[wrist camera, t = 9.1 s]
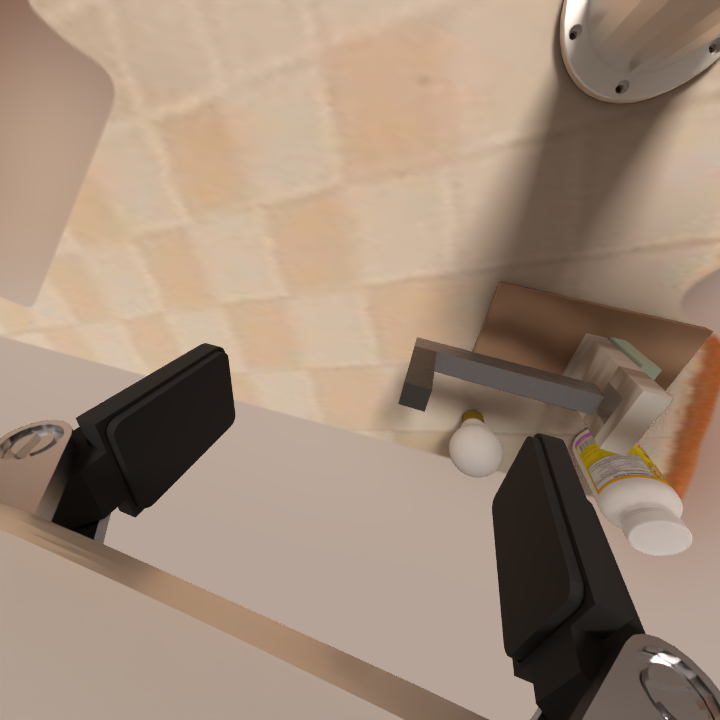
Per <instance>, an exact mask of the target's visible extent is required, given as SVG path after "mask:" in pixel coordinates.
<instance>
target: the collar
mask: <svg viewBox="0 0 720 720" xmlns="http://www.w3.org/2000/svg"><path fill="white" fill-rule="evenodd" d="M609 341H611V342H612V343H613V344H614V345H615V346H616V347H617V348H618V349H619V350H621V351H622V352H623V353H624V354H625V355H626V356H627V357H628V358H629V359H630V360H632V361H633V362H634V363H635V364H636V365H637V366H638V367H639V368H640V369H642V370H643V371H644V372H645V373H646V374H647V375H648V376H649V377H650V378H652V379H653V380H655V378H656V377H657V376H658V375H659V373H660V372H661V371H662V369H660V368H659V367H658V366H657V365H655V364H654V363H653V362H652V361H650V360H649V359H648V358H647V357H646V356H644V355H643V354H642V353H641V352H639V351H638V350H637V349H636V348H635V347H633V346H632V345H631V344H630V343H628V342H627V341H626V340H622V339H618V338H613V337H610V339H609Z"/></svg>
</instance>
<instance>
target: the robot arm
mask: <svg viewBox="0 0 720 720" xmlns="http://www.w3.org/2000/svg"><path fill="white" fill-rule="evenodd" d="M572 33H573V34H575V39H574V40H571V39H570V38H569V35H570V34H572ZM560 46H561V53H562V58H563V61H564V64H565V67H566V69H567V72H568V74H569V75H570V77H571V78H572V80H573V81H574V83H575V84H576V85H577V86H578V87H579V88H580V89H581V90H582V91H584V92H585V93H586V94H587V95H589V96H591V97H594V98H596V99H598V100H600V101H605V102H610V103H634V102H638V101H642V100H647V99H651V98H653V97H656V96H658V95H661V94H663V93H665V92H668V91H670V90H672V89H674V88H676V87H678V86H679V85H681V84H683V83H685V82H687V81H689V80H690V79H692V78H693V77H695V76H696V75H698V74H699V73H701V72H702V71H703V70H705V69H706V68H708V67H709V66H710V65H711V64H713V63H714V62H715V61H716V60H717V59H719V58H720V0H564V3H563V8H562V13H561V18H560ZM709 47H712V52H711V53H710V52H709ZM618 86H619V87H620V89H621V90H620V92H619V93H616V91H615V89H616V87H618ZM76 420H77V422H78V424H79V426H80V427H79V428H77V429H76V430H74V431H73V429H72V427H71V426H70V424H69V423H67V422H65V421H59V420H47V421H40V422H36V423H31V424H29V425H26V426H23V427H20V428H18V429H16V430H14V431H11V432H9V433H7V434H6V435H4V436H3V437H1V438H0V720H488V719H486V718H484V717H482V716H480V715H478V714H476V713H474V712H472V711H469V710H467V709H465V708H463V707H461V706H459V705H457V704H455V703H453V702H451V701H449V700H447V699H444V698H442V697H440V696H438V695H436V694H434V693H432V692H430V691H428V690H425V689H424V688H421V687H419V686H417V685H415V684H413V683H411V682H408V681H406V680H404V679H402V678H399V677H397V676H395V675H393V674H391V673H389V672H386V671H384V670H382V669H380V668H378V667H375V666H373V665H371V664H369V663H367V662H364V661H362V660H360V659H358V658H355V657H353V656H351V655H349V654H347V653H344V652H342V651H340V650H338V649H336V648H334V647H331V646H329V645H327V644H325V643H323V642H320V641H318V640H316V639H313V638H311V637H309V636H307V635H305V634H303V633H301V632H298V631H296V630H294V629H292V628H290V627H287V626H285V625H282V624H281V623H278V622H276V621H274V620H272V619H269V618H267V617H265V616H263V615H261V614H258V613H256V612H254V611H252V610H249V609H247V608H245V607H243V606H241V605H238V604H236V603H234V602H232V601H229V600H227V599H225V598H222V597H221V596H218V595H216V594H214V593H212V592H209V591H207V590H205V589H202V588H200V587H198V586H196V585H193V584H192V583H189V582H187V581H185V580H183V579H180V578H178V577H176V576H174V575H171V574H169V573H167V572H165V571H162V570H160V569H158V568H156V567H153V566H151V565H149V564H147V563H144V562H142V561H139V560H137V559H135V558H133V557H131V556H128V555H126V554H124V553H121V552H119V551H117V550H115V549H113V548H110V547H108V546H106V545H104V544H103V542H104V538H105V534H106V530H107V526H108V522H109V518H110V514H111V512H112V511H113V510H115V509H116V508H117V507H118V508H119V510H120V511H121V512H124V513H126V514H128V515H131V516H133V517H136V516H137V515H138V514H139V513H141V512H142V511H143V509H145V508H148V507H150V506H152V505H153V504H154V503H155V502H156V501H157V500H158V499H159V498H160V497H161V496H162V495H163V494H164V493H165V492H166V491H167V490H168V489H169V488H170V487H171V486H172V485H173V484H174V483H175V482H176V481H177V480H178V479H179V478H180V477H181V476H182V475H183V474H184V473H185V472H186V471H187V470H188V469H189V468H190V467H191V466H192V465H193V464H194V463H195V462H196V461H197V460H198V459H199V458H200V457H201V456H202V455H203V454H204V453H205V452H206V451H207V450H208V449H209V448H210V447H211V446H212V445H213V444H214V443H215V442H216V441H217V440H218V439H219V438H220V437H221V435H223V434H224V433H225V432H226V431H227V430H228V428H229V427H230V426H231V425H232V424H233V422H234V420H235V408H234V400H233V392H232V384H231V376H230V368H229V359H228V355H227V354H226V353H225V351H224V349H223V348H221V347H218V346H214V345H211V344H207V343H204V344H201V345H199V346H198V347H196V348H194V349H193V350H191V351H189V352H187V353H186V354H184V355H182V356H181V357H179V358H177V359H176V360H174V361H172V362H170V363H169V364H167V365H165V366H164V367H162V368H160V369H158V370H157V371H155V372H153V373H152V374H150V375H148V376H147V377H145V378H143V379H142V380H140V381H138V382H136V383H135V384H133V385H131V386H130V387H128V388H126V389H124V390H123V391H121V392H119V393H117V394H116V395H114V396H112V397H111V398H109V399H107V400H106V401H104V402H102V403H100V404H99V405H97V406H95V407H94V408H92V409H90V410H88V411H87V412H85V413H83V414H82V415H80V416H78V417H77V418H76ZM492 514H493V525H494V537H495V548H496V560H497V571H498V582H499V594H500V605H501V617H502V627H503V640H504V648H505V652H506V654H507V656H509V657H511V658H512V659H513V667H514V676H516V677H519V678H521V679H524V680H526V681H529V682H531V683H533V685H534V691H535V698H536V704H537V705H538V709H537V711H536V712H535V714H534V715H533V716H532V718H531V719H530V720H720V691H719V690H718V688H717V687H716V686H715V684H714V683H713V682H712V681H711V679H710V678H709V677H708V676H707V675H706V674H705V673H704V672H703V671H702V670H701V669H700V668H699V667H698V666H697V665H696V664H695V663H694V662H693V661H692V660H691V659H690V658H689V657H687V656H686V655H685V654H684V653H682V652H681V651H680V650H678V649H677V648H676V647H675V646H672V645H671V644H669V643H667V642H666V641H663V640H662V639H660V638H658V637H655V636H651V635H647V634H645V631H644V629H643V626H642V624H641V622H640V619H639V617H638V614H637V612H636V610H635V607H634V604H633V602H632V600H631V597H630V595H629V592H628V590H627V587H626V585H625V582H624V580H623V578H622V575H621V573H620V570H619V568H618V565H617V563H616V561H615V558H614V555H613V553H612V551H611V548H610V546H609V543H608V541H607V538H606V536H605V534H604V531H603V529H602V526H601V524H600V522H599V519H598V516H597V514H596V511H595V509H594V507H593V506H592V504H591V503H590V502H589V501H588V500H587V498H586V496H585V493H584V491H583V488H582V486H581V483H580V481H579V478H578V475H577V473H576V470H575V468H574V465H573V463H572V460H571V458H570V455H569V453H568V450H567V448H566V445H565V443H564V441H563V440H561V439H558V438H555V437H551V436H547V435H544V434H540V433H539V434H536V435H535V436H534V437H530V436H529V437H527V438H526V440H525V442H524V444H523V445H522V447H521V449H520V451H519V453H518V455H517V456H516V458H515V460H514V462H513V464H512V466H511V468H510V469H509V471H508V473H507V475H506V477H505V479H504V480H503V483H502V484H501V486H500V488H499V490H498V492H497V493H496V495H495V497H494V500H493V505H492Z"/></svg>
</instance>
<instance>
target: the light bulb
mask: <svg viewBox="0 0 720 720" xmlns="http://www.w3.org/2000/svg"><path fill="white" fill-rule="evenodd" d="M449 453H450V457H451V460H452V462H453V463H454V464H455V466H456V467H457V468H458V469H459V470H460V471H461V472H463V473H465V474H466V475H469V476H472V477H485V476H488V475H490V474H492V473H494V472H495V471H496V470H497V469H498V468H499V466H500V464H501V462H502V458H503V449H502V445H501V442H500V440H499V439H498V437H497V436H496V435H495V434H494V433H493V432H492V431H491V430H490V429H488V428H487V427H486V426H485V424H484V420H483V416H482V414H481V413H480V412H478V411H475V410H469V411H467V412H465V413H464V414H463V417H462V425H461V427H460V428H459V429H458V430H457V431H456V432H455V433H454V434H453V436H452V437H451V440H450V443H449Z"/></svg>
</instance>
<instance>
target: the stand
mask: <svg viewBox="0 0 720 720" xmlns="http://www.w3.org/2000/svg"><path fill="white" fill-rule="evenodd" d="M712 332H713V331H711V330H709V329H707V328H705V327H700V326H696V325H691V324H687V323H682V322H678V321H673V320H669V319H664V318H660V317H655V316H651V315H646V314H642V313H637V312H633V311H628V310H624V309H619V308H615V307H610V306H606V305H601V304H597V303H593V302H588V301H584V300H579V299H575V298H570V297H566V296H561V295H557V294H552V293H548V292H543V291H539V290H534V289H530V288H525V287H521V286H516V285H512V284H507V283H503V282H500V283H499V286H498V288H497V291H496V293H495V296H494V298H493V301H492V303H491V306H490V308H489V311H488V314H487V316H486V319H485V321H484V324H483V326H482V329H481V331H480V334H479V337H478V339H477V342H476V344H475V347H474V349H473V352H475V353H479V354H482V355H486V356H490V357H494V358H498V359H502V360H505V361H509V362H513V363H517V364H521V365H524V366H528V367H532V368H536V369H540V370H544V371H547V372H551V373H555V374H559V375H563V376H567V377H570V378H574V379H578V380H582V381H586V382H589V383H593V384H596V385H597V387H598V388H599V389H600V390H601V392H602V393H603V394H604V396H605V397H604V399H603V400H602V402H601V403H600V405H599V406H598V408H597V409H596V410H595V412H594V413H593V415H590V414H586V413H583V412H579V411H578V413H579V414H580V416H581V418H582V419H583V421H584V423H585V425H586V426H587V428H588V430H589V431H590V433H591V435H592V437H593V438H594V440H595V442H596V443H597V445H598V447H599V448H600V449H603V450H606V451H610V452H613V453H617V454H620V455H624V456H626V455H627V454H628V452H629V451H630V450H631V449H632V448H633V446H634V445H635V444H636V443H637V442H638V440H639V439H640V438H641V437H642V436H643V434H644V433H645V432H646V431H647V430H648V428H649V427H650V426H651V425H652V424H653V422H654V421H655V420H656V419H657V418H658V416H659V415H660V414H661V413H662V412H663V410H664V409H665V408H666V407H667V406H668V404H669V403H670V402H671V401H672V400H673V397H671V396H670V395H669V394H668V393H667V392H666V391H665V390H666V389H667V388H668V387H669V385H670V384H671V383H672V382H673V381H674V379H675V378H676V377H677V376H678V374H679V373H680V372H681V371H682V369H683V368H684V367H685V366H686V364H687V363H688V362H689V361H690V359H691V358H692V357H693V356H694V354H695V353H696V352H697V351H698V350H699V348H700V347H701V346H702V345H703V343H704V342H705V341H706V340H707V338H708V337H709V336H710V335H711V333H712ZM610 337H613V338H618V339H622V340H626V341H627V342H628V343H630V344H631V345H632V346H633V347H635V348H636V349H637V350H638V351H639V352H641V353H642V354H643V355H644V356H646V357H647V358H648V359H649V360H650V361H652V362H653V363H654V364H655V365H657V366H658V367H659V368H660V369H662V371H661V372H660V373H659V375H658V376H657V377H656V378H655V380H653V379H652V378H650V377H649V376H648V375H647V374H646V373H645V372H644V371H643V370H642V369H640V368H639V367H638V366H637V365H636V364H635V363H634V362H633V361H632V360H630V359H629V358H628V357H627V356H626V355H625V354H624V353H623V352H622V351H621V350H619V349H618V348H617V347H616V346H615V345H614V344H613V343H612V342H611V341H609V339H610Z"/></svg>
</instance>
